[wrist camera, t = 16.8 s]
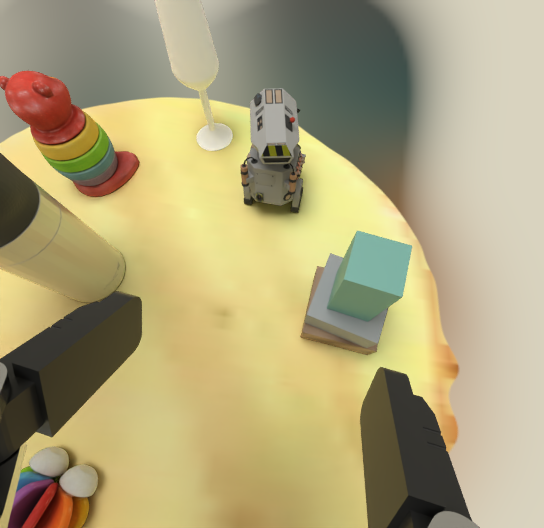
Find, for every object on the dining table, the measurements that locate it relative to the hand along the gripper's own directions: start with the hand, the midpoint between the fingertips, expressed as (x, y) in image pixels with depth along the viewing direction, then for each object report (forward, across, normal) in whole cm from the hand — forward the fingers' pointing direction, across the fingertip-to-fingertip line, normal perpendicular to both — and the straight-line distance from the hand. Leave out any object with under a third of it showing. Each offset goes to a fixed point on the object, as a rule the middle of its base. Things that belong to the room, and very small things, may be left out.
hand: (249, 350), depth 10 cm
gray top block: (+26, -7, +12) cm, 30 cm away
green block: (+23, -7, +9) cm, 25 cm away
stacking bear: (+39, +37, +6) cm, 54 cm away
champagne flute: (+48, +21, -3) cm, 53 cm away
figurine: (+42, +7, +3) cm, 43 cm away
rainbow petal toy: (+8, +20, +36) cm, 42 cm away
